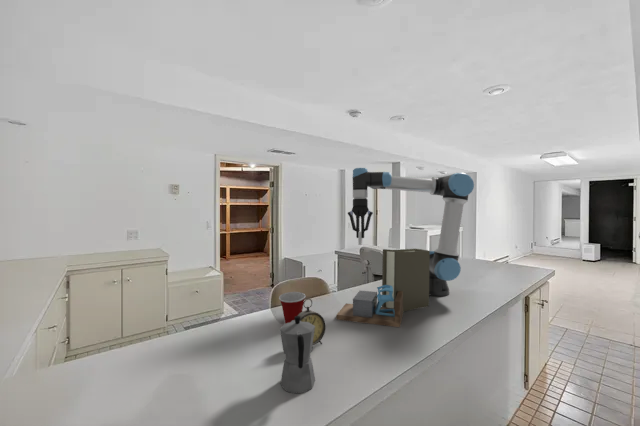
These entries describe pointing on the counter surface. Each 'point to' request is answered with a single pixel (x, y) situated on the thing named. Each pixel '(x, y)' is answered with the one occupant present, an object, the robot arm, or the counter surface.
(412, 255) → the book
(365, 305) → the gray block
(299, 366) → the coffeepot
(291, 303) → the plastic cup
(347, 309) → the wooden l-shaped stand
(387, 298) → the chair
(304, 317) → the alarm clock
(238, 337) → the counter surface
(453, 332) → the counter surface
